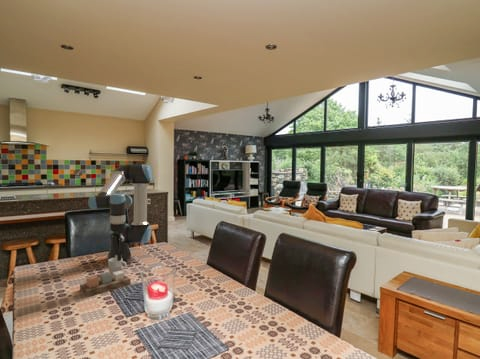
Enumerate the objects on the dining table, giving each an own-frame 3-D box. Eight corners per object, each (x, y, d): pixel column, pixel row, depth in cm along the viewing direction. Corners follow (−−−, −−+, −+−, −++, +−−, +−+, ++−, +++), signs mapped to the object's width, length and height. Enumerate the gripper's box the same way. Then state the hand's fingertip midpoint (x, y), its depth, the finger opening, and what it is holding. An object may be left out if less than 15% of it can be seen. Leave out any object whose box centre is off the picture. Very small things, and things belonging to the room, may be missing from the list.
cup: (129, 270, 173) (129, 257, 172) (122, 275, 165) (122, 262, 165) (112, 269, 174) (112, 257, 174) (105, 274, 166) (105, 261, 166)
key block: (121, 278, 161) (121, 273, 160) (130, 284, 153) (130, 278, 153) (79, 290, 145) (79, 284, 145) (87, 297, 137) (87, 291, 137)
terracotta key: (95, 283, 147) (95, 275, 147) (98, 286, 144) (98, 277, 144) (86, 286, 144) (86, 277, 144) (89, 288, 141) (89, 279, 141)
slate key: (108, 280, 152) (108, 271, 152) (111, 282, 149) (111, 274, 149) (99, 282, 149) (99, 274, 149) (103, 285, 146) (103, 276, 146)
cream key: (120, 278, 157) (120, 270, 157) (124, 280, 154) (124, 272, 154) (112, 280, 154) (112, 272, 153) (115, 283, 151) (115, 274, 150)
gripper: (105, 221, 154) (106, 264, 155) (116, 225, 145) (116, 271, 146) (119, 220, 159) (120, 261, 161) (130, 223, 150) (130, 267, 152)
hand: (118, 266), depth 154 cm, fingers closed
